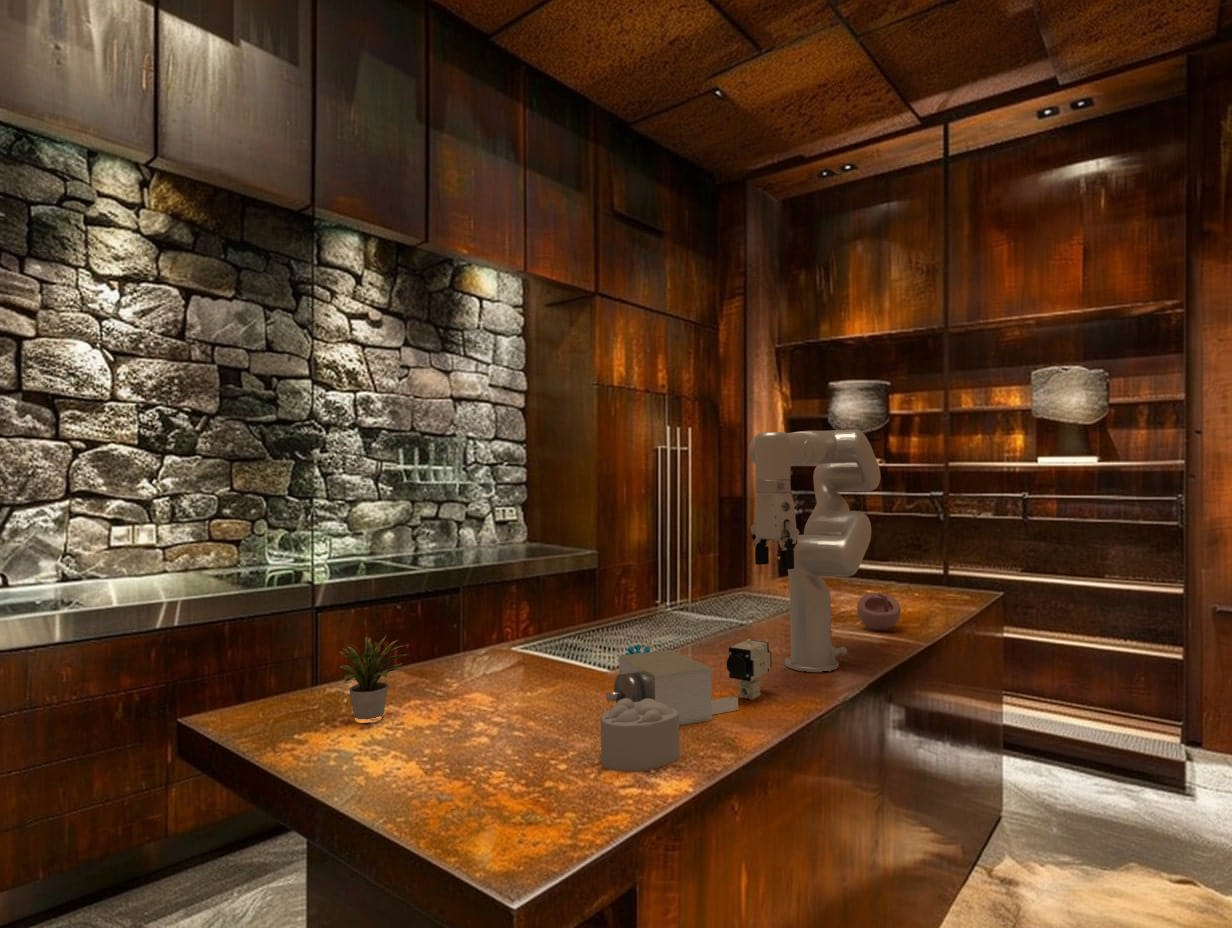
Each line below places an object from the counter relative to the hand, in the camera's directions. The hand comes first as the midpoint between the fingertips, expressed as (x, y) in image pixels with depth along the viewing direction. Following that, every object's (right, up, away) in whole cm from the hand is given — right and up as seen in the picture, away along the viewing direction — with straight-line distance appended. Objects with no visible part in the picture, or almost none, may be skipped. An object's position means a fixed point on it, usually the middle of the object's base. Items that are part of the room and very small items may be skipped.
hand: (774, 566), depth 154 cm
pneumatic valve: (-6, -26, -8) cm, 28 cm away
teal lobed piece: (-28, -27, +6) cm, 39 cm away
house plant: (-82, -27, -19) cm, 89 cm away
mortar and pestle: (+43, -27, +55) cm, 75 cm away
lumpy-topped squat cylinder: (-31, -26, -38) cm, 56 cm away
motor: (-25, -26, -16) cm, 40 cm away
